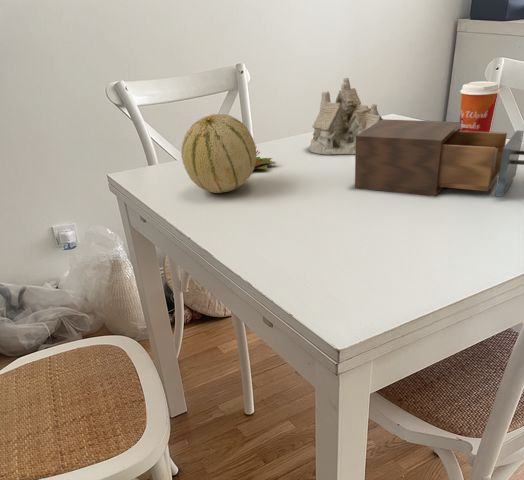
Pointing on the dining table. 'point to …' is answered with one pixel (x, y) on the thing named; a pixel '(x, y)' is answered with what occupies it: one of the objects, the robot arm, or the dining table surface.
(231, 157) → the cantaloupe
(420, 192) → the cabinet
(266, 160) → the lily flower
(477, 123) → the paper cup
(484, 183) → the drawer
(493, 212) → the dining table surface
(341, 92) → the ceramic cottage
